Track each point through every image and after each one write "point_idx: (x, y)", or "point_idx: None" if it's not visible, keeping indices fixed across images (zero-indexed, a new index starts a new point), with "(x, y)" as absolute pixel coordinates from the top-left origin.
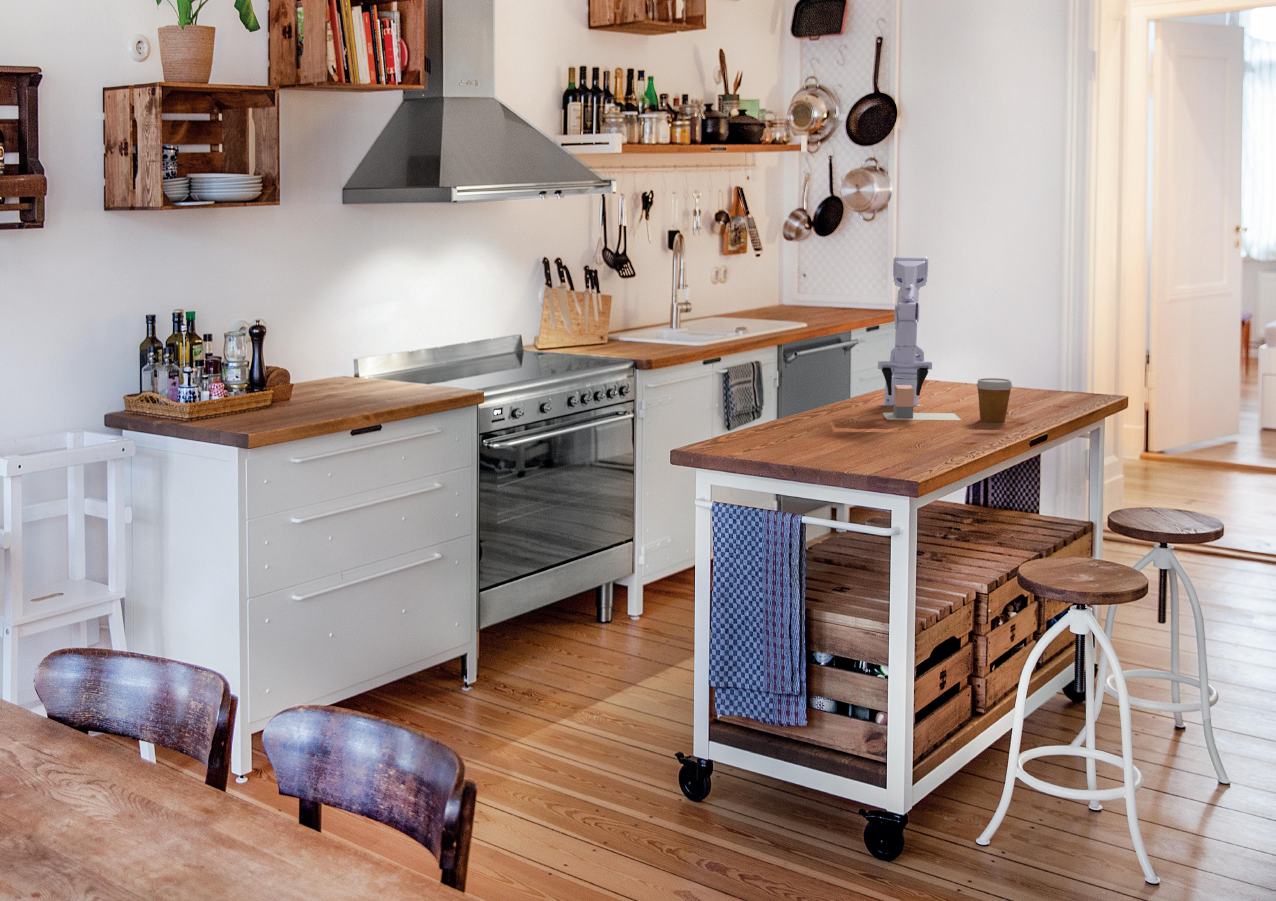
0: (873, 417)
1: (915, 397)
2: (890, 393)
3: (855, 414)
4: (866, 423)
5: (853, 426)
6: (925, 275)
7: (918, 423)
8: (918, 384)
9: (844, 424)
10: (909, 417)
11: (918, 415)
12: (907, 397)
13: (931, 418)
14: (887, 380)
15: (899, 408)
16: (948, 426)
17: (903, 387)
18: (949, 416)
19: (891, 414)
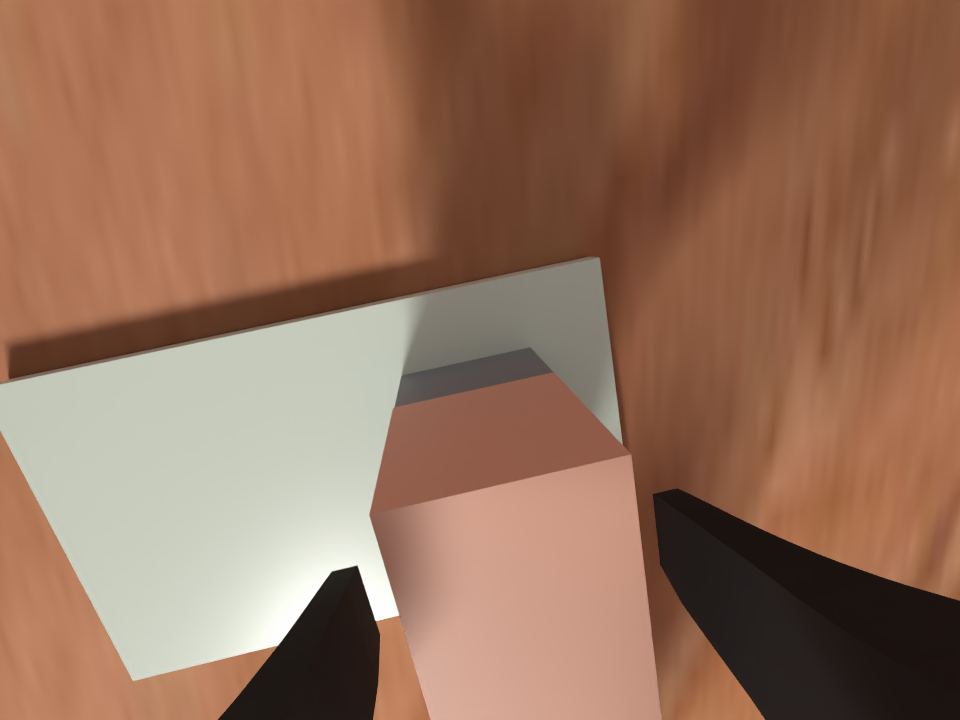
0: (681, 475)
1: None
2: (676, 497)
3: None
4: (738, 197)
5: (846, 9)
6: None
7: (351, 306)
8: (306, 680)
9: (902, 101)
10: (428, 371)
11: None
12: (461, 433)
13: (252, 404)
14: (877, 586)
15: (524, 372)
16: (77, 217)
17: (543, 584)
18: (131, 539)
19: None
